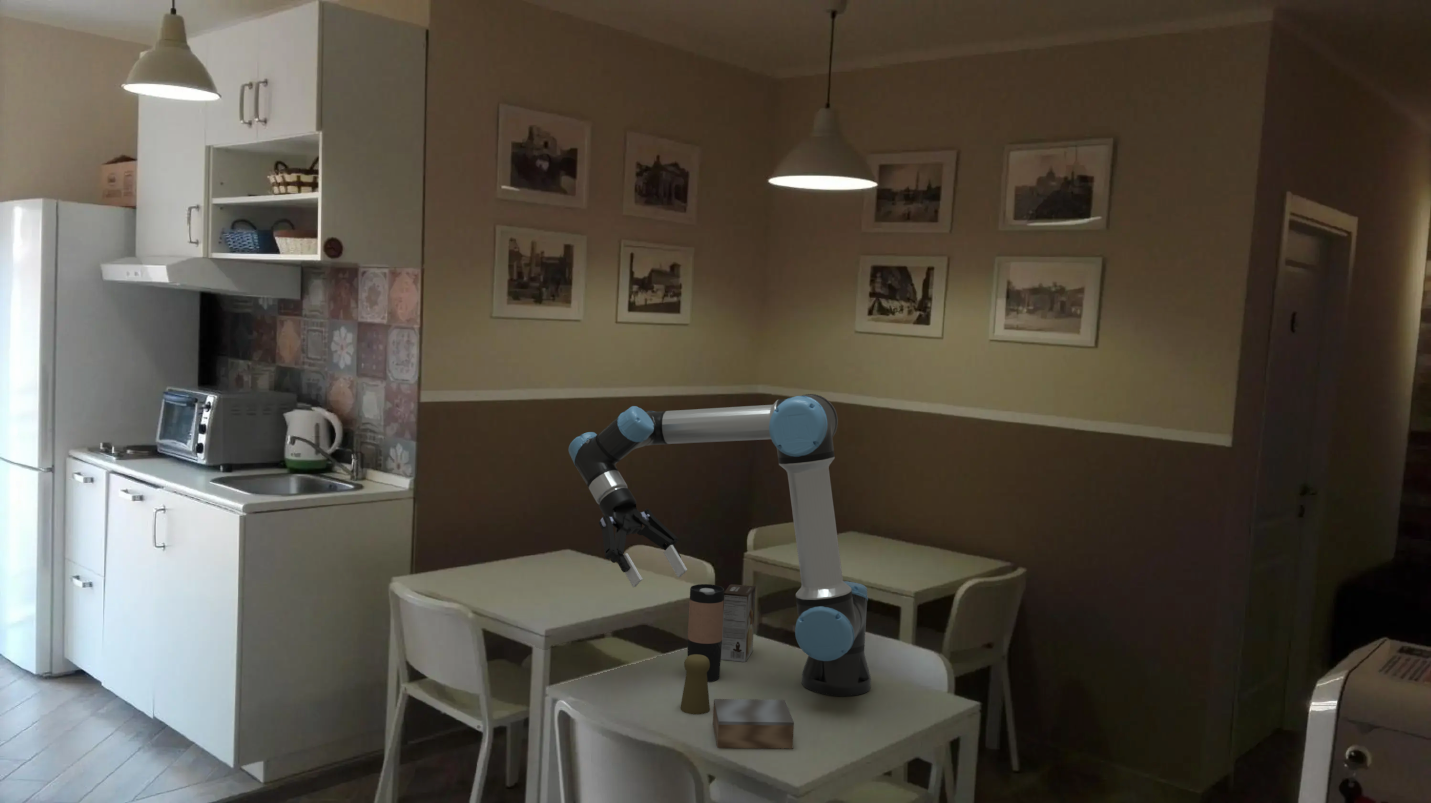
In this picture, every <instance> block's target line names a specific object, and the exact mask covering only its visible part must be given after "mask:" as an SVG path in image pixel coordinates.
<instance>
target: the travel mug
mask: <svg viewBox="0 0 1431 803" xmlns="http://www.w3.org/2000/svg"><path fill="white" fill-rule="evenodd" d="M689 589H690V590H689V602H688V603H689V605H688V606H689V608H688V611H689V612H688V624H687V625H688V628H687V657H688V656H689V655H694V654H699V655H704V656H706V657H707V658H708V659H709V662H710V667H709V670H708V672H707V682H708V683H710V682H711V683H712V682H716V681H717V680H719V679H720V673H721V661H722V660H721V649H722V632H723V603H724V592H725V589H724V587H722V586H720V585H717V584H709V583H708V584H707V583H703V584H702V583H699V584H693V585H691V586H690V588H689ZM687 657H686V658H687Z"/></svg>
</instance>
